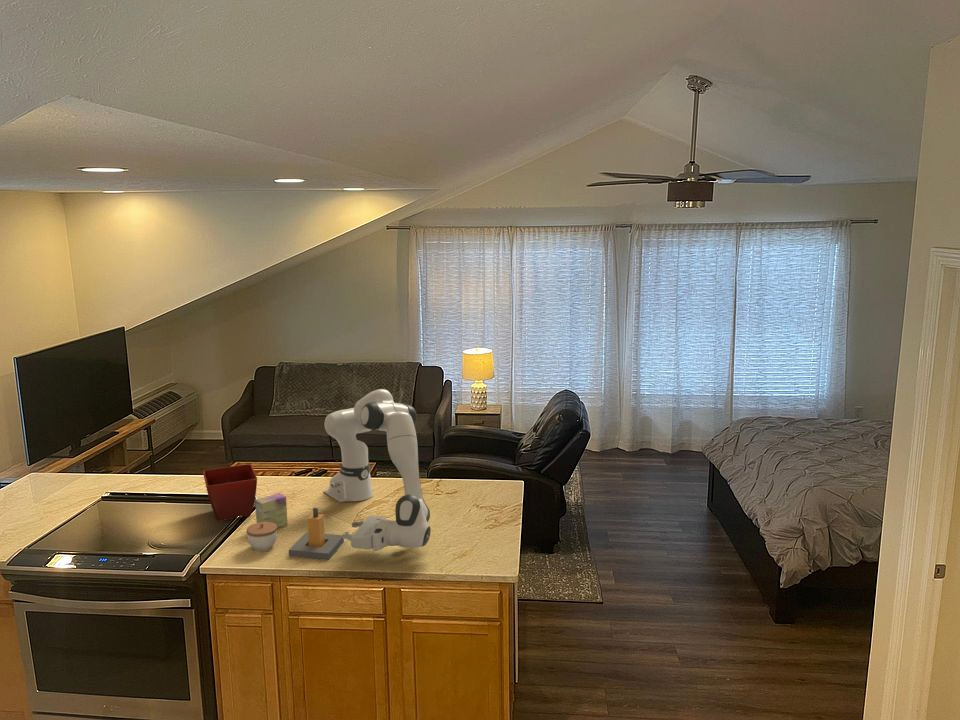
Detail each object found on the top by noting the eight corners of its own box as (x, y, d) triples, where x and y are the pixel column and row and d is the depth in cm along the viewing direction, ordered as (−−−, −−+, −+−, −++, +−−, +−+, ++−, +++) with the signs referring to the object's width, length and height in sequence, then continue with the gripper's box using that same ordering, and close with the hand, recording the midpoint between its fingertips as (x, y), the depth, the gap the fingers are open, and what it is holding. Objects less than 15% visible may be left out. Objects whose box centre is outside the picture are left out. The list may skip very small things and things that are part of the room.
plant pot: (209, 526, 285) (206, 485, 282) (205, 508, 302) (202, 470, 299) (259, 518, 293) (257, 478, 290) (253, 501, 310) (251, 463, 307)
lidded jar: (278, 552, 264) (277, 527, 262) (247, 555, 261) (245, 531, 259) (277, 539, 274) (276, 516, 272) (247, 543, 271) (246, 519, 269)
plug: (308, 549, 265) (307, 510, 262) (313, 544, 269) (312, 505, 266) (320, 550, 264) (318, 511, 261) (325, 545, 268) (323, 506, 265)
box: (280, 520, 291) (278, 492, 289) (287, 524, 287) (286, 496, 285) (256, 528, 284) (254, 499, 282) (263, 532, 280) (261, 503, 278)
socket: (288, 556, 261) (288, 549, 260) (306, 538, 275) (305, 532, 275) (328, 560, 258) (328, 553, 258) (344, 541, 272) (343, 535, 272)
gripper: (393, 512, 270) (357, 510, 272) (375, 536, 250) (336, 533, 252) (393, 528, 271) (357, 525, 273) (375, 553, 251) (337, 550, 254)
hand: (347, 529), depth 263 cm, fingers open, 8 cm apart
